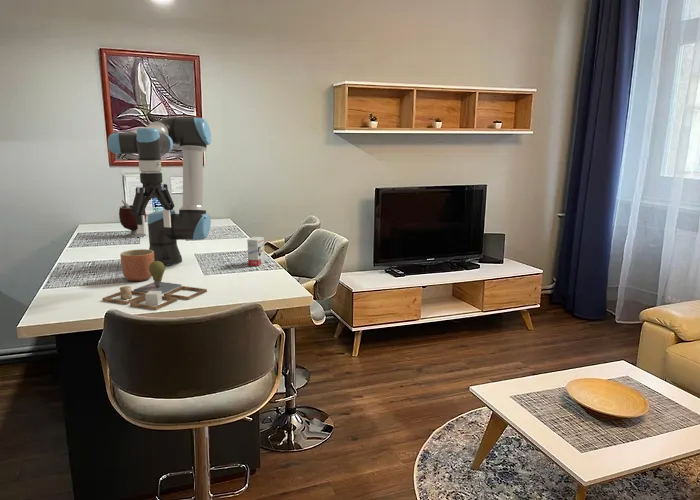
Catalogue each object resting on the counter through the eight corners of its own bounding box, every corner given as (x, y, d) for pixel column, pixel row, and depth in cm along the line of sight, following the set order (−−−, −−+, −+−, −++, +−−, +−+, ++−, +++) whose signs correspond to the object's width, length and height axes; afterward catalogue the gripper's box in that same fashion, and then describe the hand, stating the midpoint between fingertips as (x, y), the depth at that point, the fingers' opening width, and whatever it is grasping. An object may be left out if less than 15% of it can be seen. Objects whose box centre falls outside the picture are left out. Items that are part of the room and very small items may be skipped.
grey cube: (146, 305, 177) (145, 294, 177) (150, 301, 181) (149, 290, 180) (157, 305, 177) (157, 294, 177) (162, 302, 181) (161, 290, 180)
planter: (135, 285, 201) (133, 257, 199) (115, 280, 208) (113, 253, 205) (162, 278, 212) (160, 251, 209) (142, 273, 218) (140, 247, 216)
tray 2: (130, 306, 176) (130, 303, 176) (152, 297, 186) (152, 294, 186) (156, 309, 173) (155, 307, 172) (177, 300, 182) (177, 298, 182)
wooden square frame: (102, 300, 182) (102, 298, 181) (125, 292, 191) (125, 289, 191) (127, 304, 178) (126, 301, 178) (149, 295, 188) (149, 293, 188)
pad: (133, 291, 193) (133, 289, 193) (156, 282, 204) (156, 281, 204) (160, 294, 189) (160, 293, 189) (181, 286, 200) (181, 284, 200)
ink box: (258, 266, 231) (257, 240, 229) (247, 265, 232) (246, 239, 230) (265, 262, 240) (264, 236, 237) (254, 261, 241) (254, 236, 238)
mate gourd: (152, 236, 300) (150, 201, 295) (131, 239, 288) (128, 203, 284) (135, 233, 308) (132, 199, 303) (114, 236, 296) (110, 201, 292)
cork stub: (118, 299, 184) (117, 288, 183) (126, 296, 187) (125, 285, 186) (126, 300, 182) (125, 289, 182) (134, 297, 186) (133, 286, 185)
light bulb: (152, 284, 199) (150, 259, 197) (167, 284, 200) (166, 259, 198) (148, 289, 194) (146, 262, 192) (163, 289, 194) (162, 262, 192)
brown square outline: (163, 296, 187) (163, 293, 187) (182, 288, 197) (182, 286, 197) (188, 299, 184) (188, 297, 183) (207, 291, 193) (206, 289, 193)
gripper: (133, 175, 176) (139, 237, 181) (181, 170, 199) (185, 225, 203) (116, 174, 178) (121, 235, 183) (165, 169, 201) (169, 224, 206)
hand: (155, 230), depth 193 cm, fingers open, 13 cm apart
